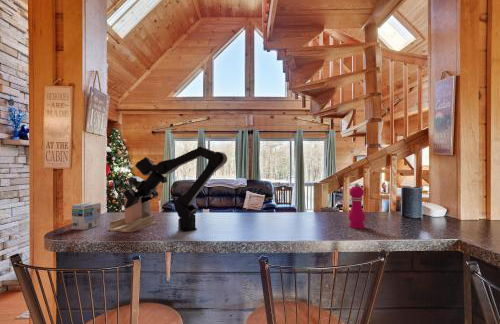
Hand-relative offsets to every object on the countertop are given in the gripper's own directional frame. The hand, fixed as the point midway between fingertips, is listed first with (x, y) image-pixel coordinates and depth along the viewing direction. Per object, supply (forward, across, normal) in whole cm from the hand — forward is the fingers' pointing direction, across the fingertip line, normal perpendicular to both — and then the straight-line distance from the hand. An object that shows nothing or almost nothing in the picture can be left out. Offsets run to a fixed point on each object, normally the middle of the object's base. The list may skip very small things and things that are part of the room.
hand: (130, 206), depth 130 cm
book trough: (+6, 0, +7) cm, 9 cm away
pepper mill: (-64, -25, +78) cm, 104 cm away
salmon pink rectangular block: (+4, 0, +6) cm, 7 cm away
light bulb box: (+20, +6, -7) cm, 22 cm away
